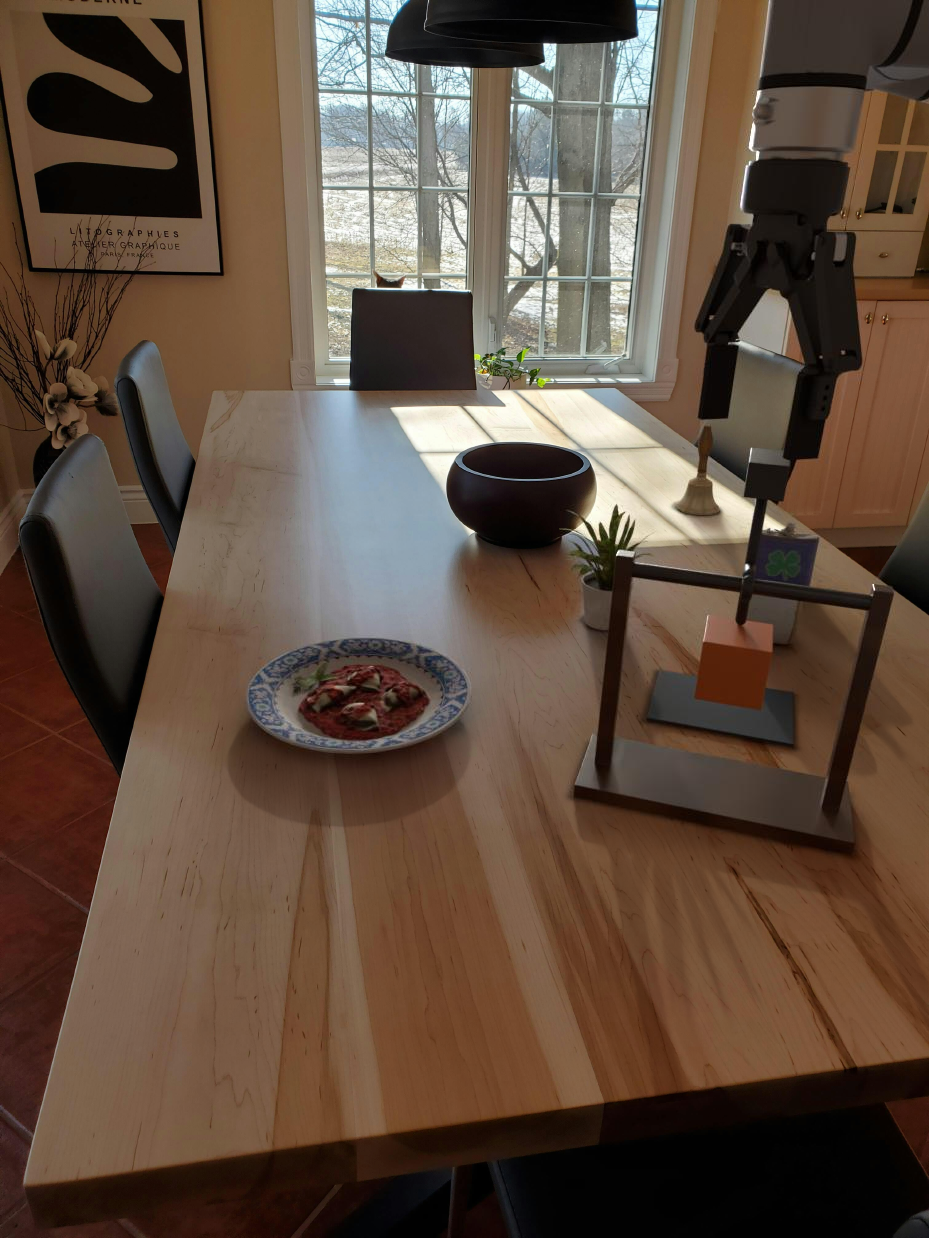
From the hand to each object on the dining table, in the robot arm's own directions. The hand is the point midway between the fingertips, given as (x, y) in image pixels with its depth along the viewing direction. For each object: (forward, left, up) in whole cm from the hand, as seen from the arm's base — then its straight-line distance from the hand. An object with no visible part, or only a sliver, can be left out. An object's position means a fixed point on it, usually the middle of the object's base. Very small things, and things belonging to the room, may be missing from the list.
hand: (753, 437), depth 77 cm
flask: (-8, -55, -36) cm, 66 cm away
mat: (-2, -16, -36) cm, 39 cm away
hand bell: (+7, -90, -36) cm, 97 cm away
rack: (-2, +2, -36) cm, 36 cm away
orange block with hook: (-2, +2, -24) cm, 24 cm away
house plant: (+16, -35, -36) cm, 53 cm away
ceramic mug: (-6, -38, -36) cm, 53 cm away
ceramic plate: (+38, -2, -36) cm, 53 cm away
